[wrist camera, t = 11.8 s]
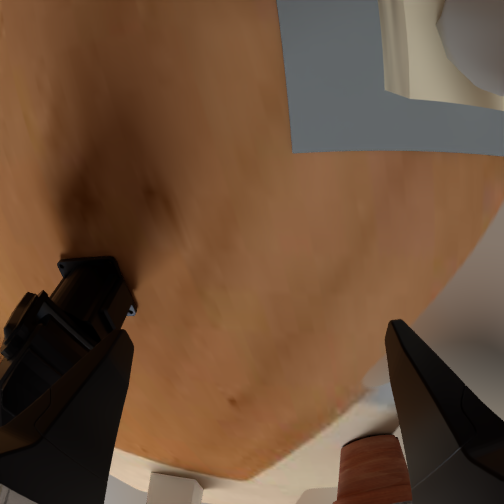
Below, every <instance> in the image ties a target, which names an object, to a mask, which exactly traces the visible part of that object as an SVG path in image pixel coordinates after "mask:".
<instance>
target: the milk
mask: <svg viewBox="0 0 504 504" xmlns="http://www.w3.org/2000/svg"><path fill="white" fill-rule="evenodd" d="M203 490H204V489H203V488H202V487H201V486H200V485H199V483H198V482H197V481H196V480H195V479H189V478H182V477H176V476H170V475H164V474H158V473H153V472H151V477H150V483H149V489H148V496H147V503H146V504H201V501H202V495H203Z"/></svg>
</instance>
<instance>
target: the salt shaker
mask: <svg viewBox="0 0 504 504" xmlns="http://www.w3.org/2000/svg"><path fill="white" fill-rule="evenodd" d="M436 27H437V30H438V33H439V36H440V38H441V41H442V44H443V47H444V50H445V53H446V56H447V58H448V59H449V60H450V61H451V62H452V63H453V64H454V65H455V67H456V68H457V69H458V70H459V71H461V72H462V73H463V74H464V75H465V76H466V77H467V78H468V79H469V80H470V81H471V82H472V83H473V84H474V85H475V86H477V87H478V88H480V89H483V90H486V91H488V92H491V93H494V94H496V95H499V96H504V0H445V2H444V6H443V10H442V14H441V17H440V19H439V20H438V22H437V24H436Z"/></svg>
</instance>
